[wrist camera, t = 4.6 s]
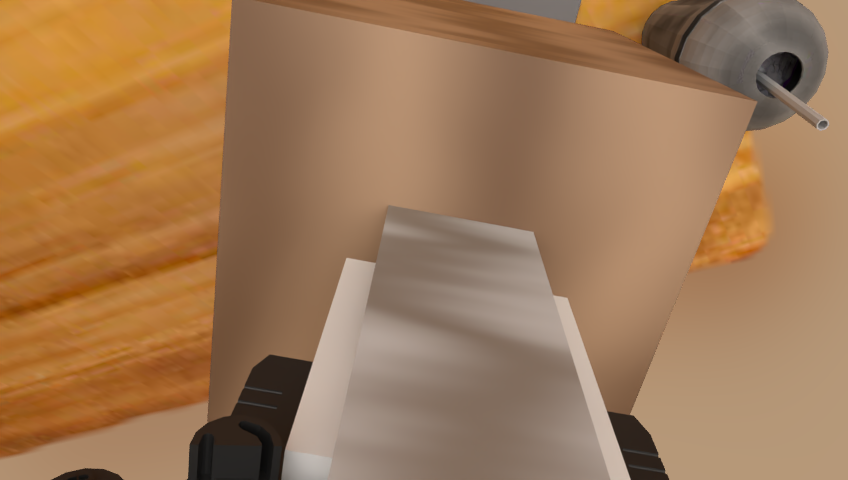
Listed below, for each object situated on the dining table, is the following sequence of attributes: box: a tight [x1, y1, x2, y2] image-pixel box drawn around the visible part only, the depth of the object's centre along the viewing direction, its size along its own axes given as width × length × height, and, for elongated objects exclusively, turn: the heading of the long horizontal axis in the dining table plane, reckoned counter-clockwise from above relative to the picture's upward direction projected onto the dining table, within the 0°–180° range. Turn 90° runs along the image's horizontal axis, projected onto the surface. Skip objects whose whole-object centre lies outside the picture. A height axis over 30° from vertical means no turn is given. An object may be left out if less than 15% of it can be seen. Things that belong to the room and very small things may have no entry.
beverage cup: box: [642, 0, 829, 131], centre depth 35 cm, size 7×7×20 cm
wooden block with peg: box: [207, 0, 758, 480], centre depth 19 cm, size 13×13×27 cm
